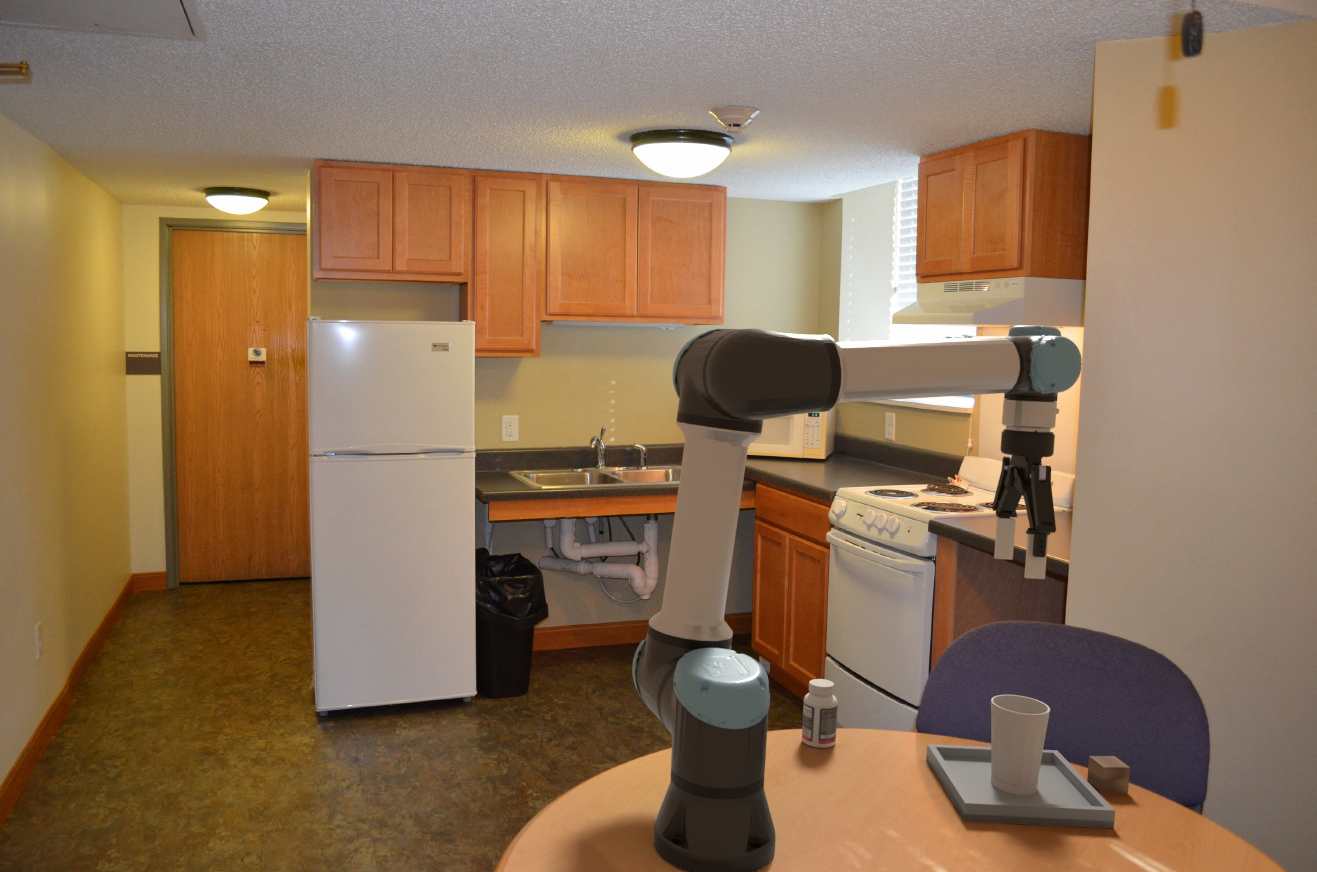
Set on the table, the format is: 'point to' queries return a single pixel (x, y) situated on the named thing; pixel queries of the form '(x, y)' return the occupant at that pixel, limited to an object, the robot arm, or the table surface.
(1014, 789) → the cup
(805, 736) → the pill bottle
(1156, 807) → the table surface
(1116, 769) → the walnut block
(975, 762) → the tray
